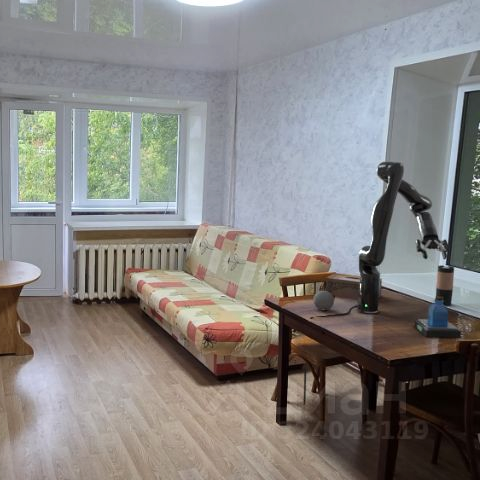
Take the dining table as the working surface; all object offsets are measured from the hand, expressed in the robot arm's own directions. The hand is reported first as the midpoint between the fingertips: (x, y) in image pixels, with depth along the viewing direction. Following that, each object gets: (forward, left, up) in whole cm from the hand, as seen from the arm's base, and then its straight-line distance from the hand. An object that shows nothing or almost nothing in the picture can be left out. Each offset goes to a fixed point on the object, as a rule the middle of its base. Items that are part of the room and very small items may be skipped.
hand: (435, 258), depth 250 cm
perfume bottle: (-7, -24, -25) cm, 35 cm away
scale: (-7, -24, -29) cm, 38 cm away
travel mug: (+14, +21, -29) cm, 39 cm away
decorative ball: (-50, +7, -29) cm, 58 cm away
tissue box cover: (-28, +36, -29) cm, 54 cm away
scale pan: (-7, -24, -26) cm, 36 cm away
